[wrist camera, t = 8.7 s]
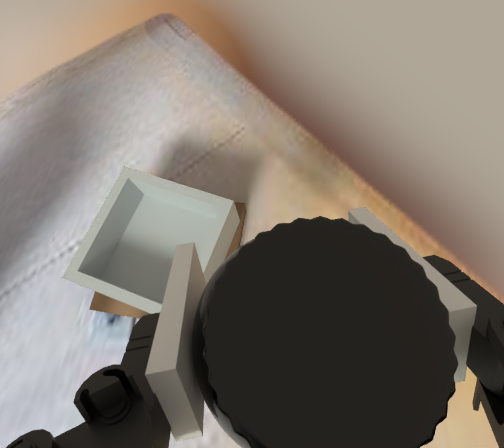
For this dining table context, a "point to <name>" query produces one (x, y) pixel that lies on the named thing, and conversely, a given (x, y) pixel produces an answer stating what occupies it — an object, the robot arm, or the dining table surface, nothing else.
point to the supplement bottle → (324, 341)
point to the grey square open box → (150, 238)
